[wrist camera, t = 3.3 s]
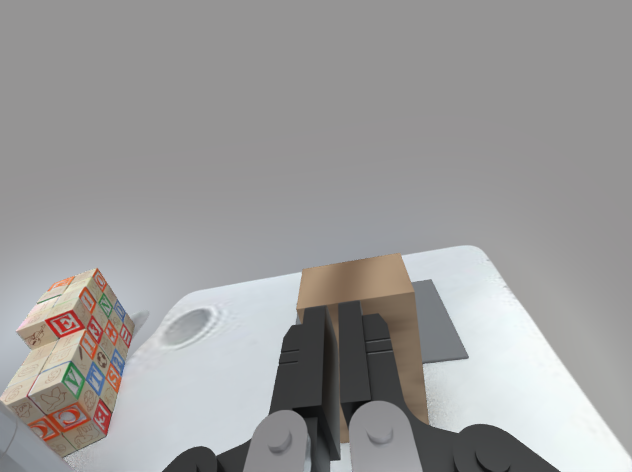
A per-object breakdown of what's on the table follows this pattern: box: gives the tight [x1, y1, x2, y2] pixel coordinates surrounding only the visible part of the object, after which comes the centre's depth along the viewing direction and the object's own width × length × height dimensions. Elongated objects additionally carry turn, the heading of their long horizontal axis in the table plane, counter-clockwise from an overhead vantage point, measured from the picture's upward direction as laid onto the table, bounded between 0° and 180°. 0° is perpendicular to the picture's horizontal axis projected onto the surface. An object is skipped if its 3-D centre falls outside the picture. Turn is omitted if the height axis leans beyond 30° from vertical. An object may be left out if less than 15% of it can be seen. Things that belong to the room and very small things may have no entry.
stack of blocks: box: [0, 268, 135, 457], centre depth 40 cm, size 21×6×12 cm, turn 22°
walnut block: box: [296, 253, 429, 443], centre depth 26 cm, size 8×5×16 cm, turn 86°
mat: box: [296, 279, 469, 364], centre depth 40 cm, size 20×14×1 cm
